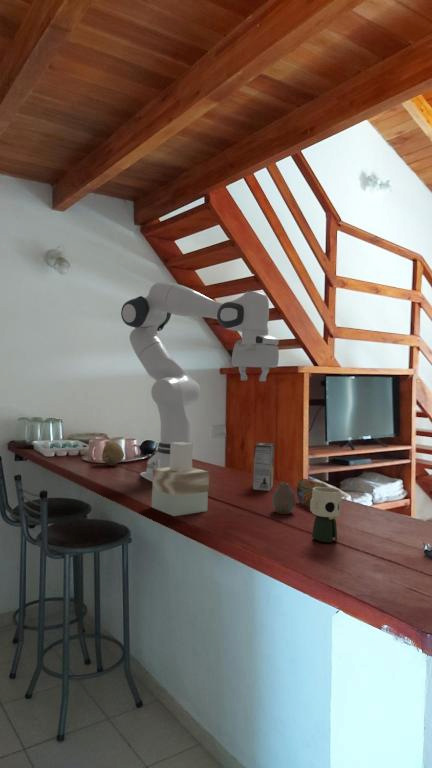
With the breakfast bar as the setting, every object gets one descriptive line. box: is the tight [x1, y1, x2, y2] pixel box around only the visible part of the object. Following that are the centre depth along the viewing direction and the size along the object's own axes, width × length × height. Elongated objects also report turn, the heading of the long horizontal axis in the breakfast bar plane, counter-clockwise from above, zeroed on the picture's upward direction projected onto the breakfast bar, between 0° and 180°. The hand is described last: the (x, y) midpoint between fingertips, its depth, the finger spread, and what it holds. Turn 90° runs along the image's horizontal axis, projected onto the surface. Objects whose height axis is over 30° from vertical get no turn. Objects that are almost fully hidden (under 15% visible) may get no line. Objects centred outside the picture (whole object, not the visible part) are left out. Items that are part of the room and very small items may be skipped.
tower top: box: [151, 466, 210, 496], centre depth 167 cm, size 12×12×6 cm
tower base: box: [151, 488, 209, 517], centre depth 167 cm, size 12×12×6 cm
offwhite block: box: [170, 442, 194, 472], centre depth 167 cm, size 5×4×8 cm
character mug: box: [309, 486, 343, 543], centre depth 141 cm, size 11×7×13 cm, turn 126°
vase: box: [271, 482, 296, 515], centre depth 168 cm, size 7×7×9 cm
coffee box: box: [252, 442, 275, 492], centre depth 203 cm, size 9×6×16 cm
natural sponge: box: [101, 441, 125, 467], centre depth 237 cm, size 9×9×10 cm
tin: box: [296, 478, 328, 508], centre depth 177 cm, size 15×3×8 cm, turn 24°
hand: (253, 380), depth 188 cm, fingers open, 8 cm apart
